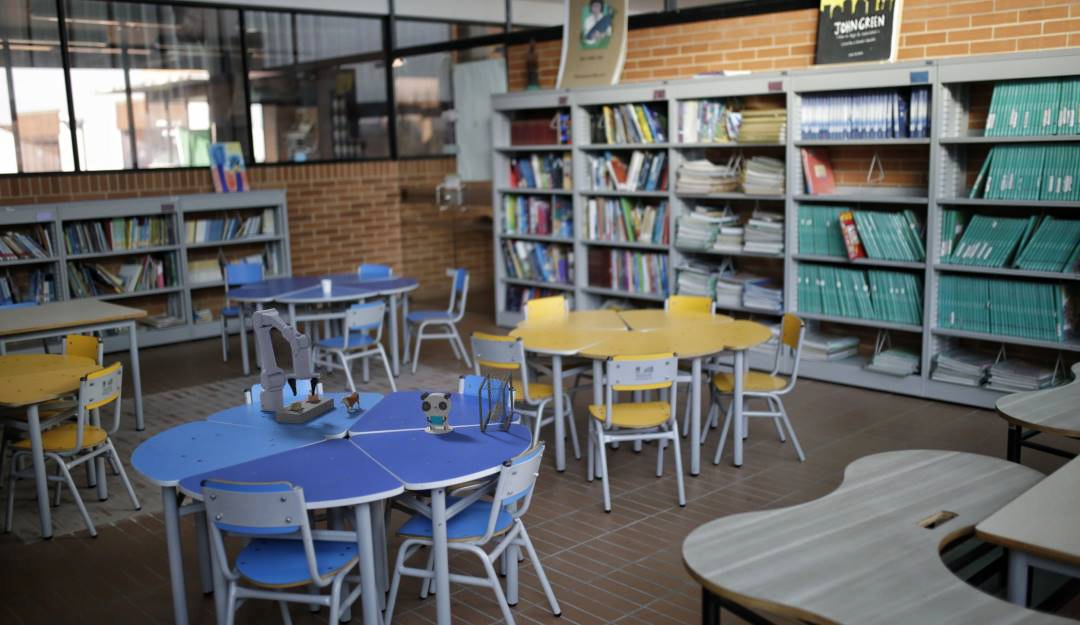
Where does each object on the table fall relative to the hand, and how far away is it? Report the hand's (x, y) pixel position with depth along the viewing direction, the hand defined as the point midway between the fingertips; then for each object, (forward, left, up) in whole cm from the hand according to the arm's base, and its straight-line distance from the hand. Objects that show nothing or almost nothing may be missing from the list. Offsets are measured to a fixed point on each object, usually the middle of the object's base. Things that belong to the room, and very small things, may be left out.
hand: (304, 395), depth 406 cm
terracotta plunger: (-2, +10, -6) cm, 12 cm away
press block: (-2, +4, -10) cm, 10 cm away
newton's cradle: (+83, +13, -10) cm, 84 cm away
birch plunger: (-3, -3, -6) cm, 7 cm away
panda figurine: (+64, -3, -10) cm, 64 cm away
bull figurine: (+15, +13, -10) cm, 22 cm away
